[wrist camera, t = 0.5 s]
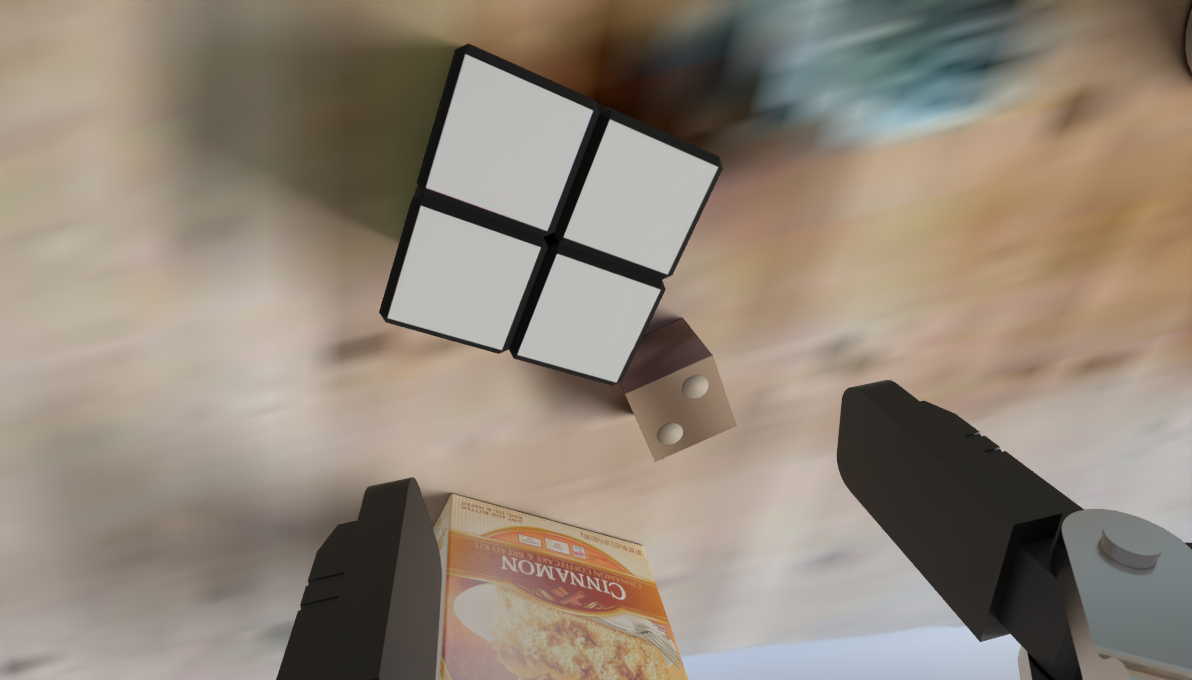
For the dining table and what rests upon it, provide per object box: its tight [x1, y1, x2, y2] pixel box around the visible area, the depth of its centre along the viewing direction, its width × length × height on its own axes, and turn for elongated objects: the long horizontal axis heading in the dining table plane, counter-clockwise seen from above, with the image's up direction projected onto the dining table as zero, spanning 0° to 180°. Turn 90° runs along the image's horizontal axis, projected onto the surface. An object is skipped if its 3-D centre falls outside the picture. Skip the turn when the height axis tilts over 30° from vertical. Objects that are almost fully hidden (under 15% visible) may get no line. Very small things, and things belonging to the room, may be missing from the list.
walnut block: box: [620, 318, 736, 462], centre depth 34 cm, size 5×5×5 cm
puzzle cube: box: [379, 44, 723, 386], centre depth 25 cm, size 10×10×10 cm
